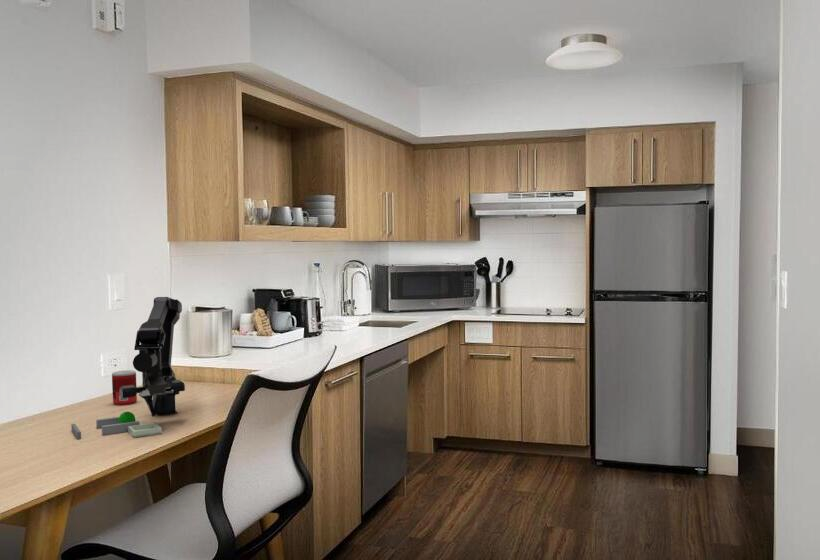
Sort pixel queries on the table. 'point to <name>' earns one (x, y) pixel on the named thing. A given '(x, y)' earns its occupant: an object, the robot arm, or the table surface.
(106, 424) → the channel
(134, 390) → the robot arm
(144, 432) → the dish
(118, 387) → the canned food
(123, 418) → the polyhedron
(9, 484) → the table surface
